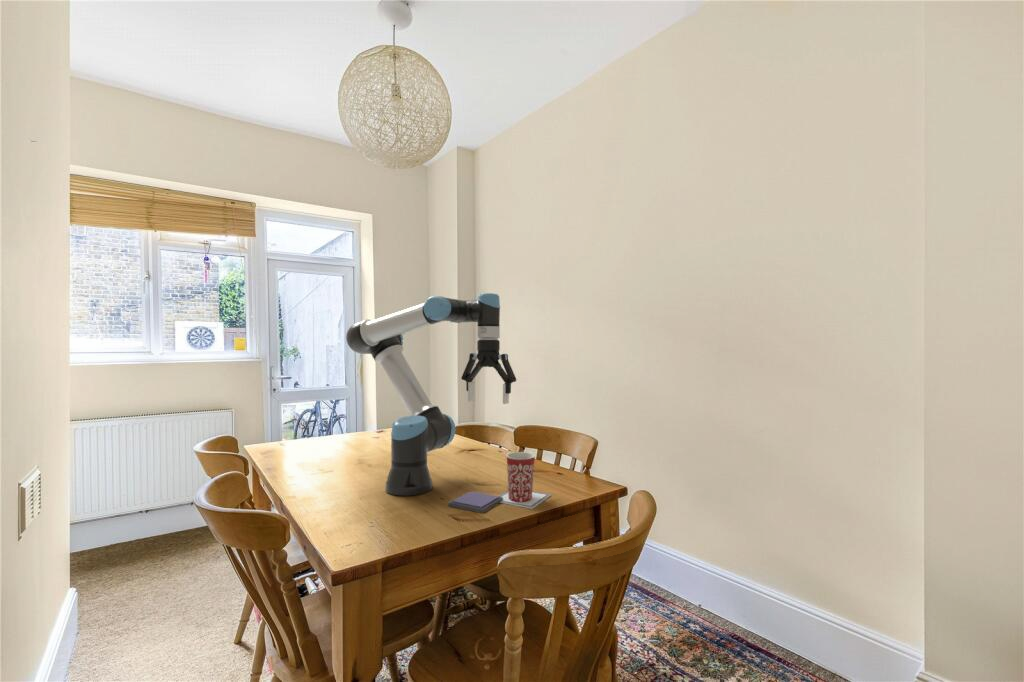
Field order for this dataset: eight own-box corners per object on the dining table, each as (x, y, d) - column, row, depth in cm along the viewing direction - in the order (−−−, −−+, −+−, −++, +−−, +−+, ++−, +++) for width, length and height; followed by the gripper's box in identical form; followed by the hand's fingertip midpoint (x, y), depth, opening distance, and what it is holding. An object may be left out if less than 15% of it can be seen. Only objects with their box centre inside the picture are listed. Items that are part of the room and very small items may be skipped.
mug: (536, 503, 139) (536, 458, 139) (505, 503, 139) (506, 458, 139) (533, 490, 152) (533, 449, 152) (505, 490, 152) (506, 449, 152)
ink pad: (448, 505, 138) (448, 501, 138) (470, 494, 148) (470, 490, 148) (482, 513, 132) (482, 508, 132) (502, 500, 143) (502, 496, 143)
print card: (491, 501, 142) (491, 499, 142) (512, 488, 155) (512, 487, 155) (532, 508, 136) (532, 507, 136) (551, 495, 148) (551, 494, 148)
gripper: (451, 339, 159) (451, 401, 159) (516, 339, 147) (515, 405, 147) (464, 339, 165) (463, 398, 165) (526, 339, 154) (526, 403, 153)
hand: (488, 402), depth 156 cm, fingers open, 13 cm apart
